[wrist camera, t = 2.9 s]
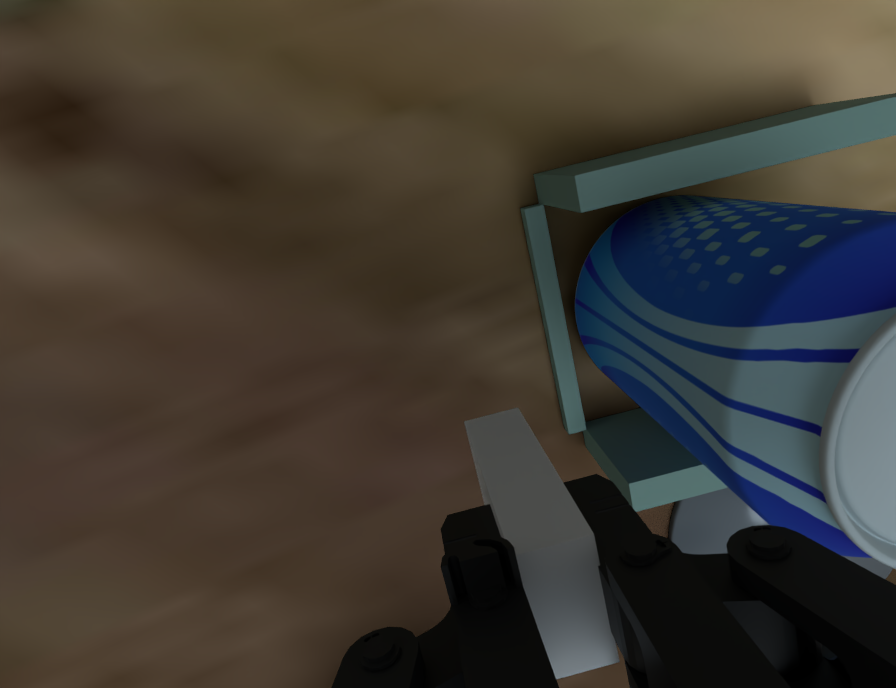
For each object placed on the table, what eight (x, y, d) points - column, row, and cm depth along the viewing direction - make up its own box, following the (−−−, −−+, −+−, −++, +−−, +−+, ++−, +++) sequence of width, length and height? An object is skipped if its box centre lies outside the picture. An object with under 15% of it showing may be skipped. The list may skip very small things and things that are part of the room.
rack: (514, 179, 27) (550, 181, 21) (814, 105, 27) (930, 88, 22) (568, 451, 30) (613, 517, 24) (835, 382, 31) (940, 431, 25)
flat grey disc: (651, 446, 31) (656, 451, 30) (897, 381, 31) (907, 386, 30) (685, 656, 34) (690, 664, 33) (907, 595, 34) (917, 603, 34)
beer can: (763, 192, 28) (1228, 220, 13) (743, 381, 30) (1119, 601, 15) (569, 195, 27) (811, 228, 12) (562, 388, 29) (760, 629, 14)
